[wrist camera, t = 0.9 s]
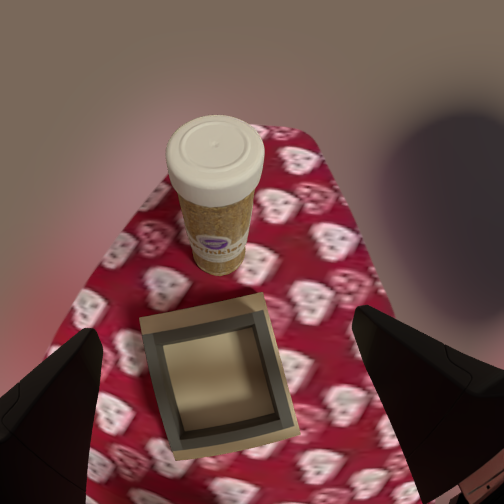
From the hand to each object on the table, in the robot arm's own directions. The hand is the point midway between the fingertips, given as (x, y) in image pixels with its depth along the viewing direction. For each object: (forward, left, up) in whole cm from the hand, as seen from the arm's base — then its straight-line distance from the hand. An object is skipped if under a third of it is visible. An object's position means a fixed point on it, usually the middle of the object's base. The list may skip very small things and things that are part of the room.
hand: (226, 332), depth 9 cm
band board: (-3, +1, -14) cm, 14 cm away
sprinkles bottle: (+8, -1, -14) cm, 16 cm away
